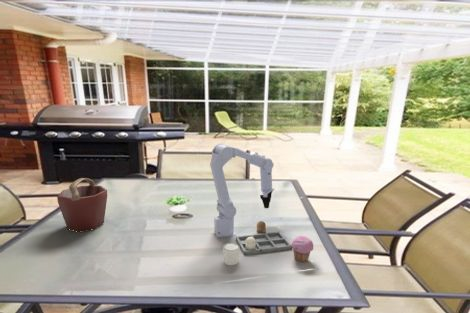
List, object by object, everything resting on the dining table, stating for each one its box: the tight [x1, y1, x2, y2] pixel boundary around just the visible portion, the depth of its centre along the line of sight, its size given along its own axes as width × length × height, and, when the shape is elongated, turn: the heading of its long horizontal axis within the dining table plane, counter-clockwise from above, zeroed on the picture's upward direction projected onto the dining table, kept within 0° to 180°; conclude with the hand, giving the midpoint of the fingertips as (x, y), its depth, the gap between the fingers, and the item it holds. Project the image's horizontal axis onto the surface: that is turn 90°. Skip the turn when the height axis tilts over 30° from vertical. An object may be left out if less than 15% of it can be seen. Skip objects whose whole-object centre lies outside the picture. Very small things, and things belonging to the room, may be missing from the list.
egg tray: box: [235, 231, 293, 256], centre depth 141 cm, size 22×15×2 cm
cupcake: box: [291, 235, 314, 263], centre depth 128 cm, size 9×9×10 cm
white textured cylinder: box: [222, 242, 240, 266], centre depth 126 cm, size 7×7×7 cm
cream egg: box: [246, 237, 256, 251], centre depth 136 cm, size 4×4×6 cm
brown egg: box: [256, 220, 267, 234], centre depth 154 cm, size 4×4×6 cm
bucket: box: [56, 177, 108, 233], centre depth 160 cm, size 24×22×25 cm
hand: (267, 205), depth 163 cm, fingers open, 7 cm apart
